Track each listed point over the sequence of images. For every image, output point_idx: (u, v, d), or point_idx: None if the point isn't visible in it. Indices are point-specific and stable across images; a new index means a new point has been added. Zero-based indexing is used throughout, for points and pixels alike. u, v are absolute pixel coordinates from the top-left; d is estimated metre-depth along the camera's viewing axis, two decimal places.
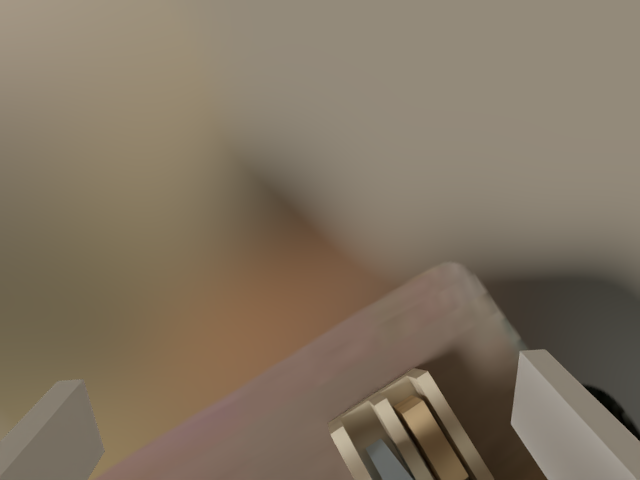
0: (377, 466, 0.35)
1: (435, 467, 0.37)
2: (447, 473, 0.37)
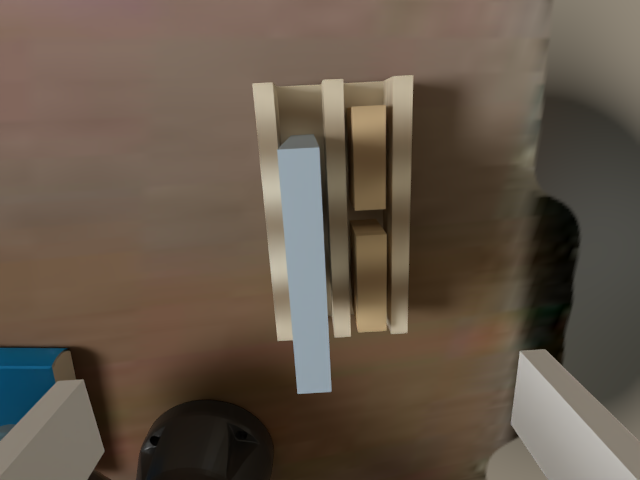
0: (289, 139, 0.27)
1: (355, 182, 0.30)
2: (364, 194, 0.30)
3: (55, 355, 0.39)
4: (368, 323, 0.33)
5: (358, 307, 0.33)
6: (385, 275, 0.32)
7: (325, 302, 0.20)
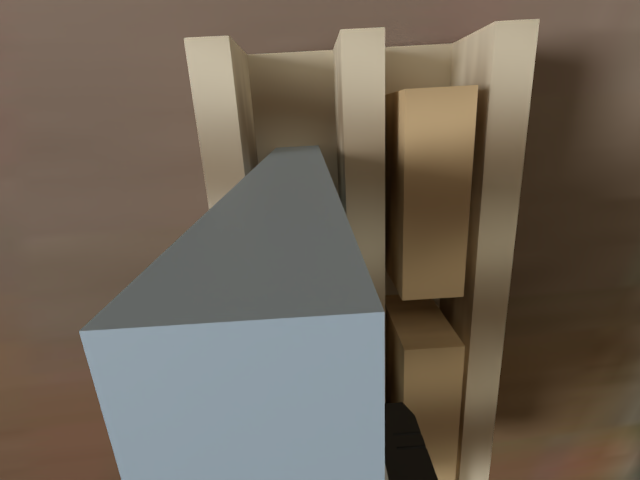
0: (263, 164, 0.11)
1: (405, 246, 0.15)
2: (423, 269, 0.15)
3: None
4: None
5: None
6: (457, 418, 0.17)
7: None
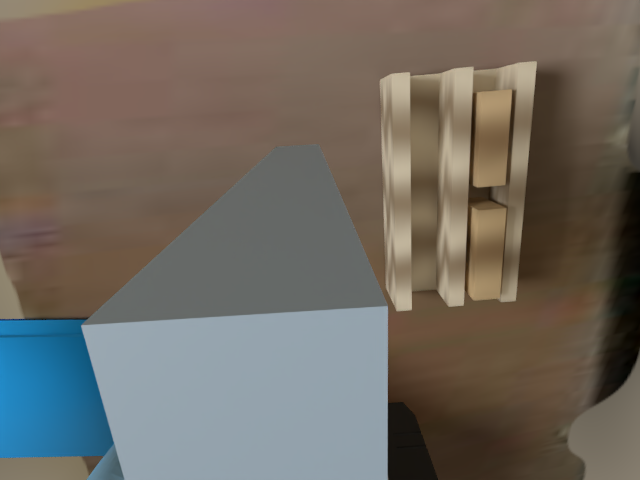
0: (263, 162, 0.11)
1: (479, 161, 0.33)
2: (487, 171, 0.33)
3: None
4: (484, 291, 0.36)
5: (475, 277, 0.36)
6: (502, 246, 0.35)
7: None
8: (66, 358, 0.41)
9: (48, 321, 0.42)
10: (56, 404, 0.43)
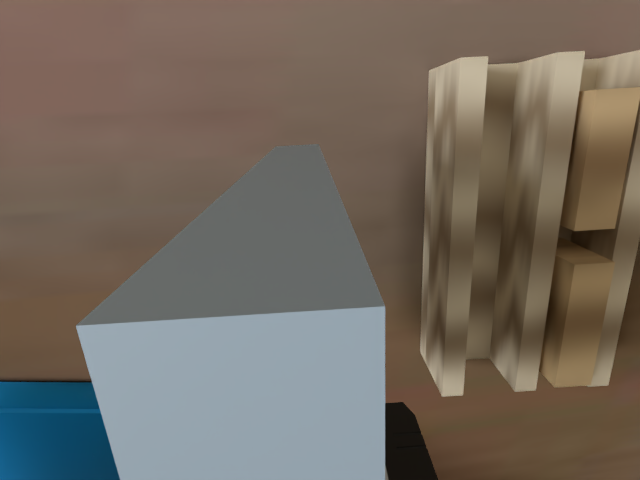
0: (263, 162, 0.11)
1: (581, 193, 0.22)
2: (591, 208, 0.23)
3: None
4: (570, 375, 0.26)
5: (559, 356, 0.25)
6: (603, 315, 0.24)
7: None
8: None
9: None
10: None
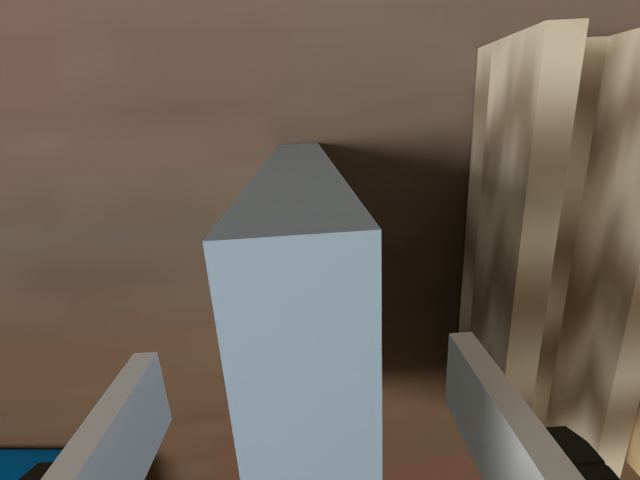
0: (273, 157, 0.13)
1: None
2: None
3: None
4: None
5: None
6: None
7: None
8: None
9: None
10: None
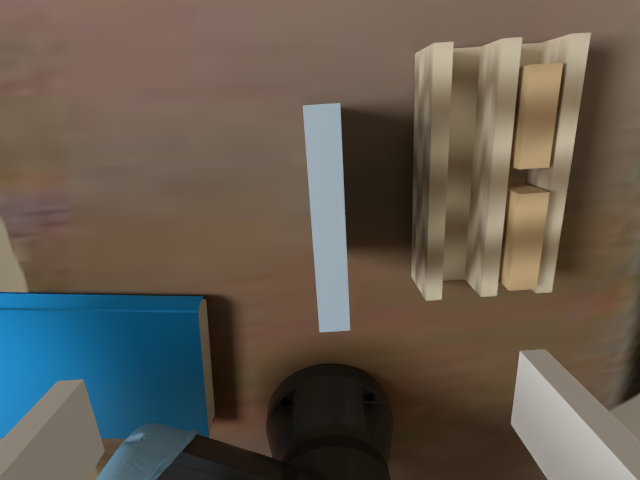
0: None
1: (523, 140, 0.31)
2: (531, 152, 0.31)
3: (198, 301, 0.39)
4: (520, 281, 0.34)
5: (512, 265, 0.34)
6: (542, 233, 0.33)
7: (345, 246, 0.23)
8: (74, 334, 0.39)
9: (56, 295, 0.40)
10: None
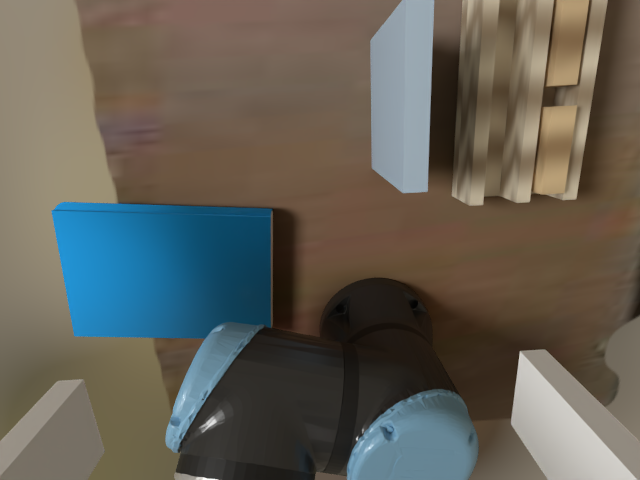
0: None
1: (556, 60, 0.37)
2: (562, 71, 0.38)
3: (269, 210, 0.45)
4: (550, 185, 0.41)
5: (544, 171, 0.40)
6: (570, 142, 0.39)
7: (428, 116, 0.29)
8: (162, 236, 0.44)
9: None
10: (147, 283, 0.46)
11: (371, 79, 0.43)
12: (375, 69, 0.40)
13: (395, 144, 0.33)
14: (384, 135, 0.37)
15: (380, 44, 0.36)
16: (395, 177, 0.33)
